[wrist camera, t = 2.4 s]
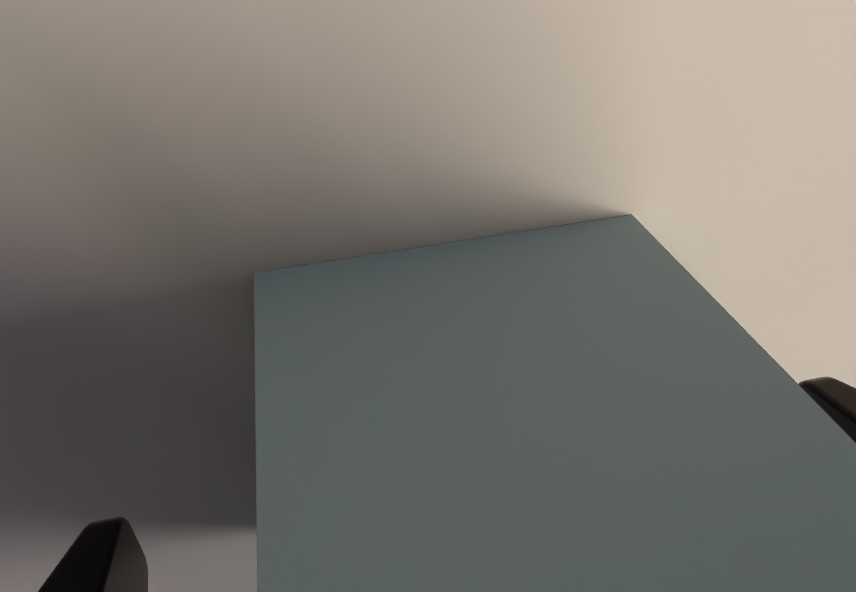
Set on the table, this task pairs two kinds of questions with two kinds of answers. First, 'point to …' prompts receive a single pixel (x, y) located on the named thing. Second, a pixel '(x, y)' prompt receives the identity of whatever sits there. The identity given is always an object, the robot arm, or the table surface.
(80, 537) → the robot arm
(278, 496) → the slate block
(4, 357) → the table surface
